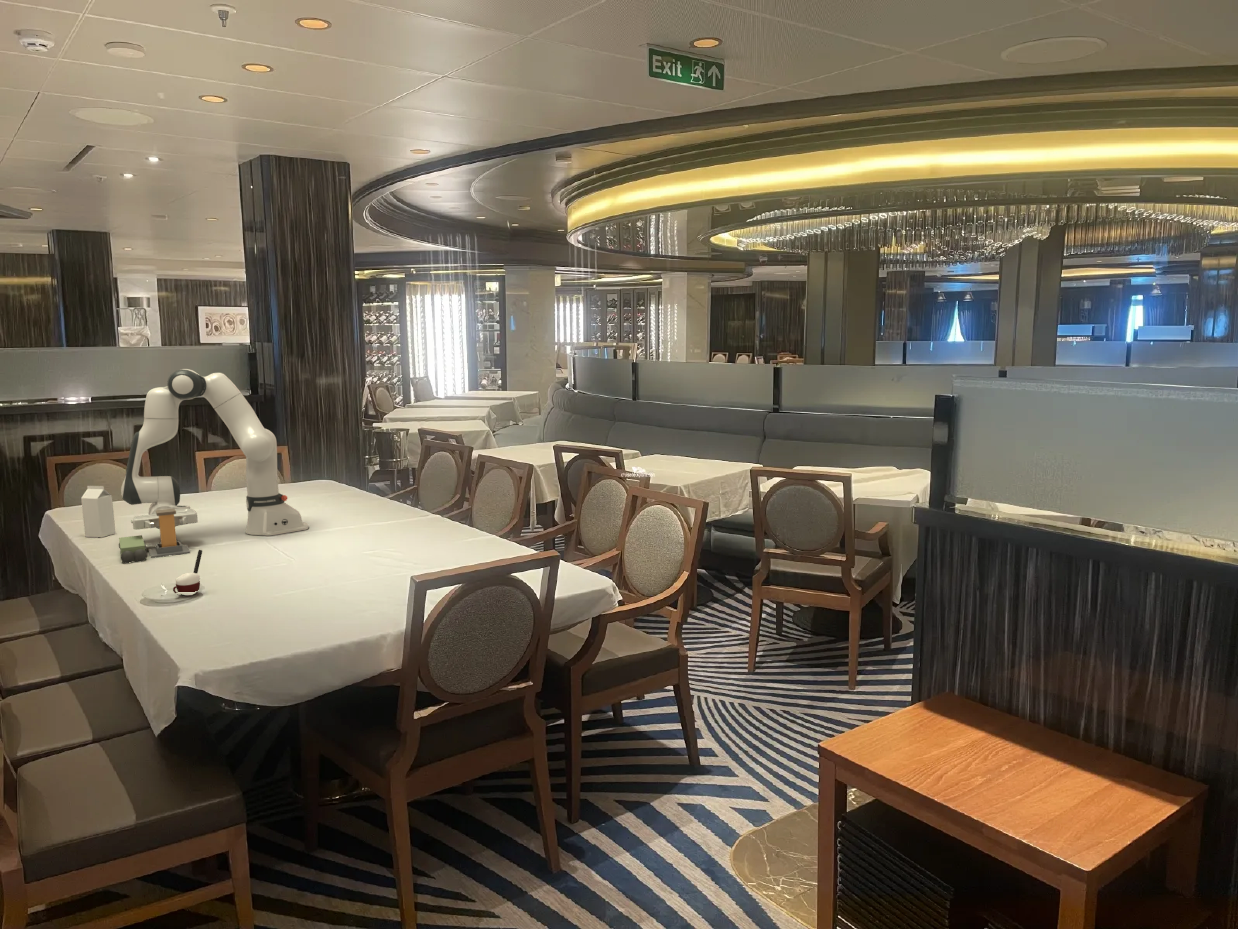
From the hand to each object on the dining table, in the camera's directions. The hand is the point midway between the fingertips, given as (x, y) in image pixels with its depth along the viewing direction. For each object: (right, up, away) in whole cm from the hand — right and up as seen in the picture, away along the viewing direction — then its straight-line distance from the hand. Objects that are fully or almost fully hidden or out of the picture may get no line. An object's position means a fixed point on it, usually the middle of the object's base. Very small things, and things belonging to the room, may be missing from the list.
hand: (166, 524), depth 297 cm
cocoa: (+31, -17, -47) cm, 59 cm away
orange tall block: (0, -9, +2) cm, 10 cm away
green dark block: (-10, -11, -3) cm, 15 cm away
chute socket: (0, -10, +2) cm, 10 cm away
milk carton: (-40, -6, +28) cm, 49 cm away
